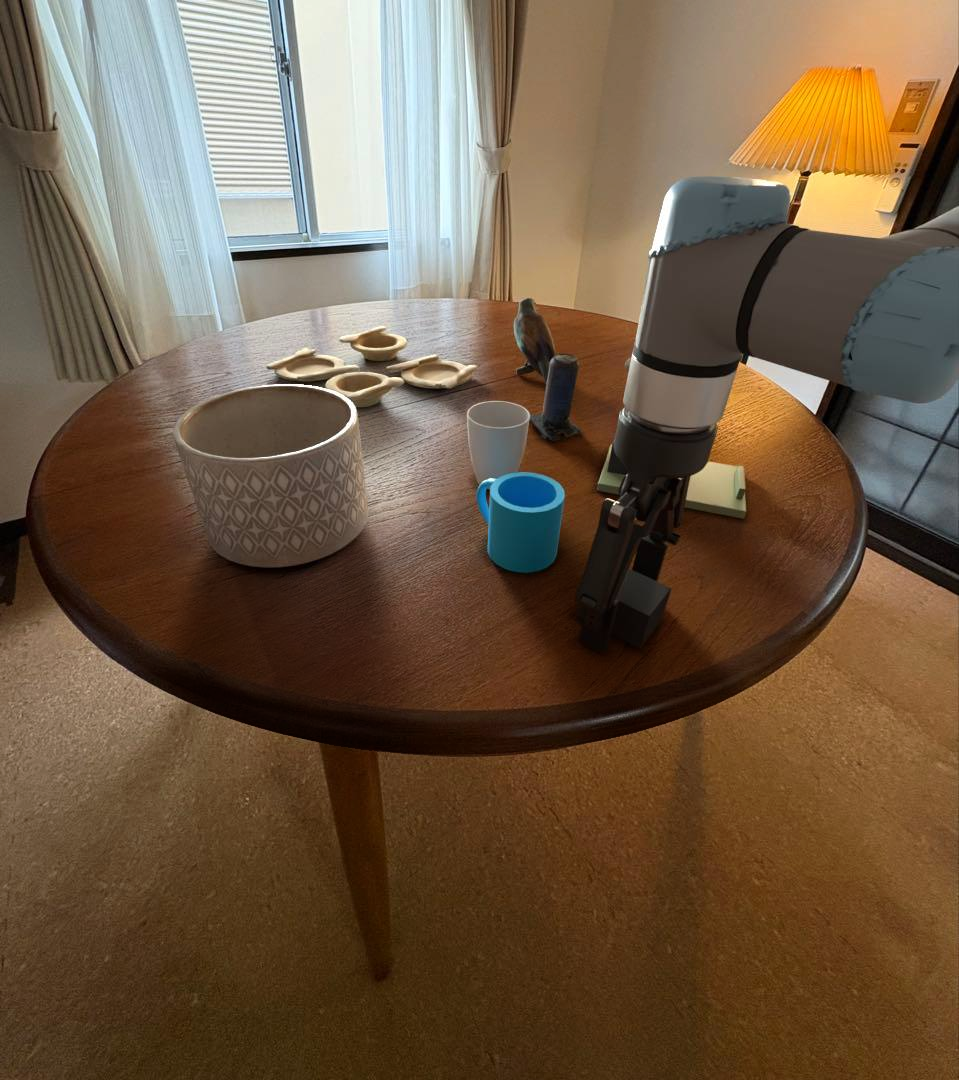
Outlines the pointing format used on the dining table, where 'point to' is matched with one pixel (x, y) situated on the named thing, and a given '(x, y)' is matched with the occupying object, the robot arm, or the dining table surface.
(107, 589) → the dining table surface
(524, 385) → the dining table surface
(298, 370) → the tableware set
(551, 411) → the dark cylinder on base
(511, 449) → the cup
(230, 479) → the planter
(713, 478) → the dock
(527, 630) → the dining table surface
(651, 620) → the dark grey block
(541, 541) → the mug
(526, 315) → the bird figurine
